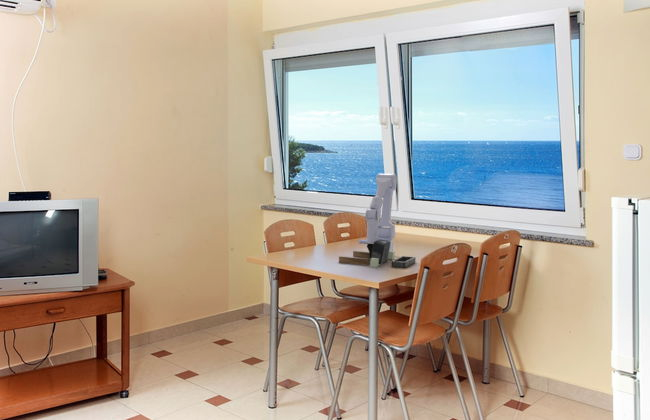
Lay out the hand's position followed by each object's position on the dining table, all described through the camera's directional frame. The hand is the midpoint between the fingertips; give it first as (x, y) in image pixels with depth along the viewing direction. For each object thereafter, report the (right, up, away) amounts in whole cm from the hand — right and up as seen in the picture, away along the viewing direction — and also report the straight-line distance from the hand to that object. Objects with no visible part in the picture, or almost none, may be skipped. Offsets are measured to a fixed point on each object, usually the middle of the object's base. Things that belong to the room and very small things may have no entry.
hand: (371, 258), depth 322 cm
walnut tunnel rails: (-5, -1, +4) cm, 6 cm away
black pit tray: (+15, -3, -7) cm, 17 cm away
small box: (+3, -1, -1) cm, 4 cm away
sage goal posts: (+6, -2, -2) cm, 6 cm away
